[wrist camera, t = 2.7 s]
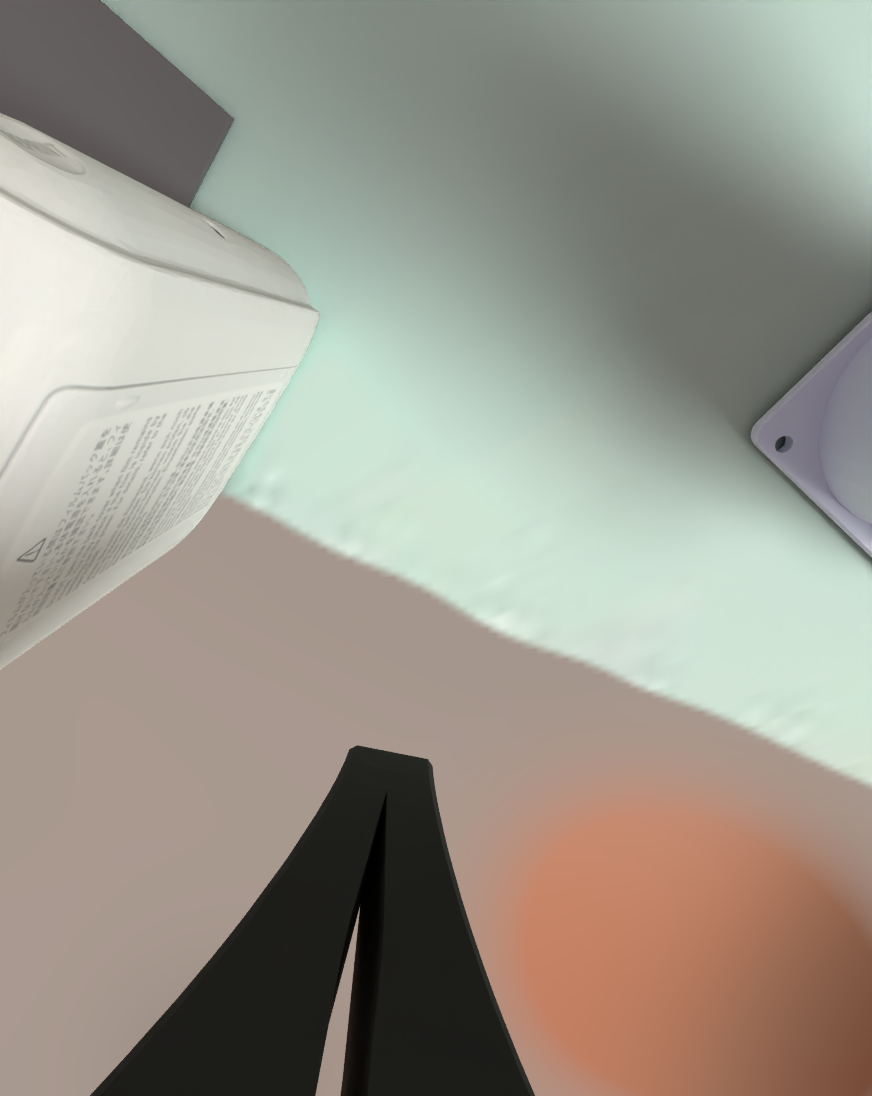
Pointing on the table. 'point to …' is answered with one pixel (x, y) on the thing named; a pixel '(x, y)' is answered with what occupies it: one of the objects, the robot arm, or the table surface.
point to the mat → (107, 94)
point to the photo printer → (120, 374)
